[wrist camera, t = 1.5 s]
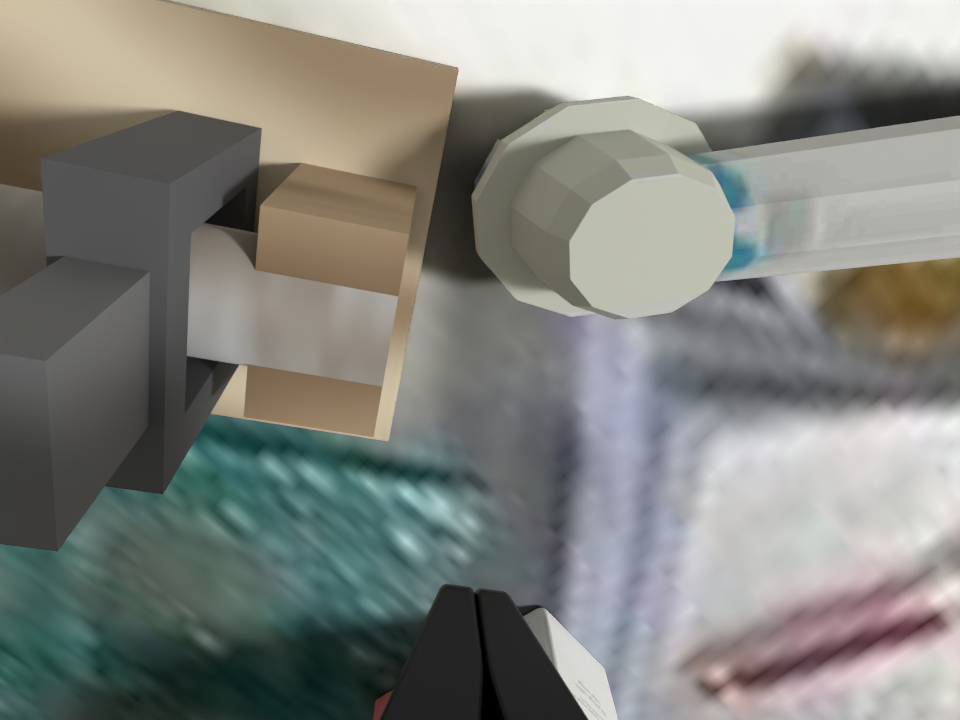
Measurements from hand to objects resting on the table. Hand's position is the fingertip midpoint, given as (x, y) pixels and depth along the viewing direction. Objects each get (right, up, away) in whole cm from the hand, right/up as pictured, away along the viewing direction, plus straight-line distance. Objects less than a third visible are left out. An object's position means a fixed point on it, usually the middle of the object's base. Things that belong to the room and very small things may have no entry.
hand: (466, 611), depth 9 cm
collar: (-7, +6, +10) cm, 13 cm away
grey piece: (+12, +9, +11) cm, 19 cm away
